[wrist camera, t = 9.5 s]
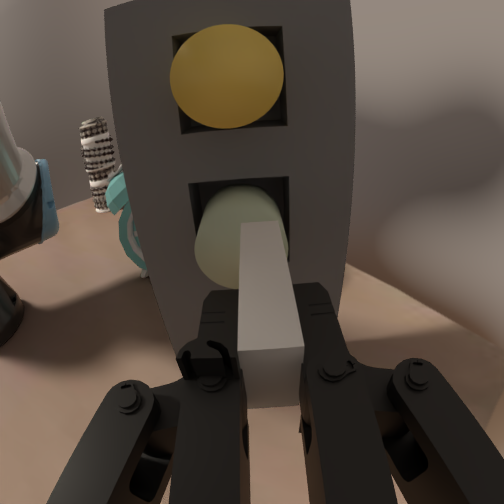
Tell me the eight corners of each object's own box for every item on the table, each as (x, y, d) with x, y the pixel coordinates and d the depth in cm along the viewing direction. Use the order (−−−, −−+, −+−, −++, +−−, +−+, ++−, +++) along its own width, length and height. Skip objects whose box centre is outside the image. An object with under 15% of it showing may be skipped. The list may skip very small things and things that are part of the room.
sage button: (208, 255, 21) (198, 186, 18) (281, 250, 21) (279, 180, 18) (202, 291, 17) (187, 212, 15) (288, 286, 17) (288, 205, 15)
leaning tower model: (126, 197, 81) (110, 113, 68) (124, 208, 73) (106, 115, 60) (97, 204, 78) (80, 122, 65) (92, 216, 71) (71, 125, 58)
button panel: (194, 349, 33) (134, 23, 16) (316, 342, 33) (325, 7, 16) (189, 388, 28) (104, 9, 11) (325, 380, 28) (348, -13, 11)
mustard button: (190, 123, 16) (183, 43, 13) (277, 116, 16) (272, 35, 13) (175, 134, 13) (165, 32, 10) (285, 125, 13) (280, 21, 10)
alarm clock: (122, 286, 44) (86, 163, 34) (132, 255, 52) (106, 149, 42) (230, 273, 46) (215, 140, 35) (225, 242, 54) (212, 130, 43)
